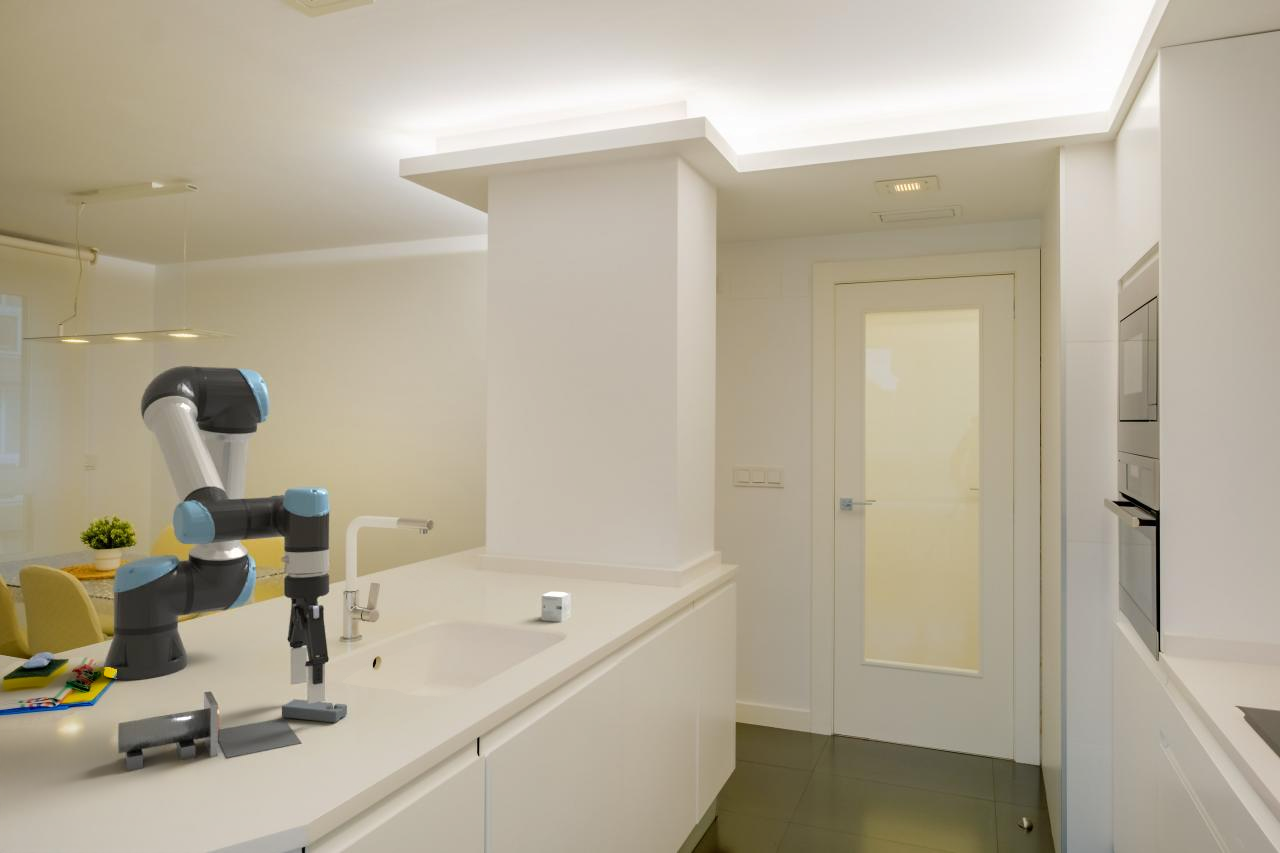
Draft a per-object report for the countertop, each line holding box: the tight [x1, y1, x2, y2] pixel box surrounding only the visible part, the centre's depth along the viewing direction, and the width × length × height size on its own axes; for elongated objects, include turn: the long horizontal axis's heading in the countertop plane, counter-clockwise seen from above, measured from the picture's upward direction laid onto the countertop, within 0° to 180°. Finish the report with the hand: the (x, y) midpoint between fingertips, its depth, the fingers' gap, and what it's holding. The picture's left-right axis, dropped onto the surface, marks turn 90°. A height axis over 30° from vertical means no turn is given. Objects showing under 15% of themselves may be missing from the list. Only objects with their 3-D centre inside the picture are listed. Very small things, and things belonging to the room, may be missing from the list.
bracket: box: [281, 698, 348, 724], centre depth 147 cm, size 4×10×2 cm, turn 80°
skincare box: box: [541, 591, 572, 623], centre depth 223 cm, size 6×6×7 cm
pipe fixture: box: [117, 691, 221, 772], centre depth 130 cm, size 8×13×8 cm, turn 124°
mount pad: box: [218, 717, 302, 759], centre depth 138 cm, size 14×11×1 cm
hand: (307, 692), depth 150 cm, fingers open, 13 cm apart
